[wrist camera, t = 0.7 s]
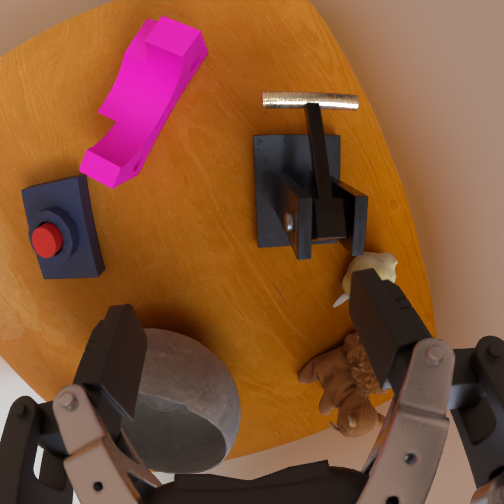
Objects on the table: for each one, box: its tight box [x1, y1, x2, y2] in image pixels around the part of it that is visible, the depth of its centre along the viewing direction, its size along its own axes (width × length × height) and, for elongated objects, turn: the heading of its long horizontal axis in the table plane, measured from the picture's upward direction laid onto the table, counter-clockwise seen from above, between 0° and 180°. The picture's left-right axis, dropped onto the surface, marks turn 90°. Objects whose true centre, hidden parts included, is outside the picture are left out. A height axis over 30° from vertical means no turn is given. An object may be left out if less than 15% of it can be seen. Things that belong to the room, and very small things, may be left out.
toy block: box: [79, 16, 208, 189], centre depth 23 cm, size 15×6×8 cm, turn 149°
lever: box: [261, 91, 359, 241], centre depth 21 cm, size 12×8×2 cm, turn 2°
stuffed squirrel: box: [298, 332, 390, 438], centre depth 36 cm, size 10×14×13 cm
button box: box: [21, 174, 105, 279], centre depth 29 cm, size 12×9×4 cm
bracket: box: [253, 134, 368, 260], centre depth 25 cm, size 12×9×13 cm
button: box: [32, 223, 63, 258], centre depth 27 cm, size 4×4×2 cm
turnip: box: [333, 252, 398, 308], centre depth 34 cm, size 6×6×10 cm
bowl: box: [121, 328, 241, 474], centre depth 33 cm, size 20×20×15 cm
